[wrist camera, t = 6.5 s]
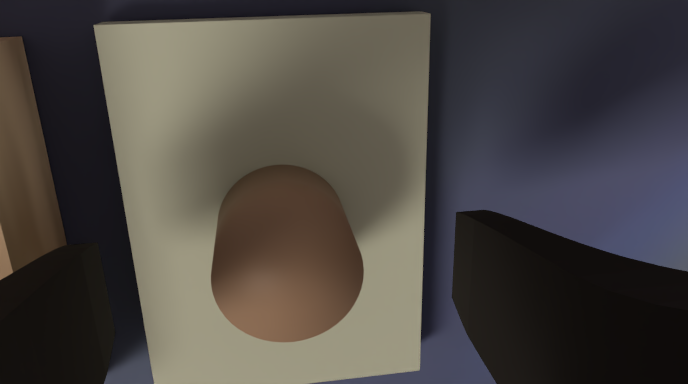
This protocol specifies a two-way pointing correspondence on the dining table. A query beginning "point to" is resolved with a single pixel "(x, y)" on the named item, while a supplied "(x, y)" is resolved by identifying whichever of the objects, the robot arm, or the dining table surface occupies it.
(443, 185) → the dining table surface
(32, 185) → the box
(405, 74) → the lid
